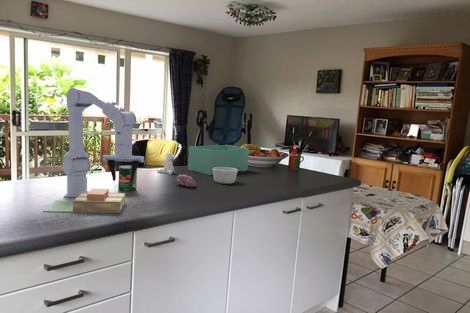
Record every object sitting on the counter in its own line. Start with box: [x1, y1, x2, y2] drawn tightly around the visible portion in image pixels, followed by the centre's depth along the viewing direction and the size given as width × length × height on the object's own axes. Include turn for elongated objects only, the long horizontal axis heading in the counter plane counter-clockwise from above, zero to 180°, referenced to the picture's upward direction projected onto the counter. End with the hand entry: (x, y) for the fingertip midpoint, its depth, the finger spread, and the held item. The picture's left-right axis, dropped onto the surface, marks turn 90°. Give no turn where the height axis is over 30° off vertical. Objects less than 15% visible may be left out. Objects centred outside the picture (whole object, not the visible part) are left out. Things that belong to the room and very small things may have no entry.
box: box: [187, 144, 250, 176], centre depth 242 cm, size 21×32×14 cm, turn 135°
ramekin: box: [212, 167, 239, 184], centre depth 207 cm, size 13×13×7 cm
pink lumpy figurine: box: [175, 174, 198, 188], centre depth 190 cm, size 10×5×7 cm, turn 58°
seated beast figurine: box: [156, 151, 176, 175], centre depth 223 cm, size 10×9×12 cm
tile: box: [87, 188, 110, 200], centre depth 144 cm, size 9×6×2 cm, turn 8°
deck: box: [72, 192, 126, 214], centre depth 144 cm, size 14×16×4 cm
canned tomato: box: [117, 164, 138, 194], centre depth 172 cm, size 8×8×11 cm
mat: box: [42, 199, 74, 213], centre depth 142 cm, size 15×10×1 cm, turn 8°
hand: (123, 180), depth 144 cm, fingers open, 6 cm apart
